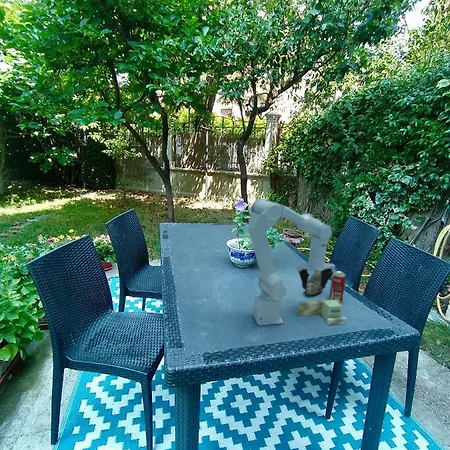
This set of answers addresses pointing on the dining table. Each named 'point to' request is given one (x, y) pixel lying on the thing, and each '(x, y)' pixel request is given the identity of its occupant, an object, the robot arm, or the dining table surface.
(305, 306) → the wall board
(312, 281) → the mineral rock
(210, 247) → the dining table surface
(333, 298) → the soda can
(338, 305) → the cabinet block
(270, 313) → the robot arm
